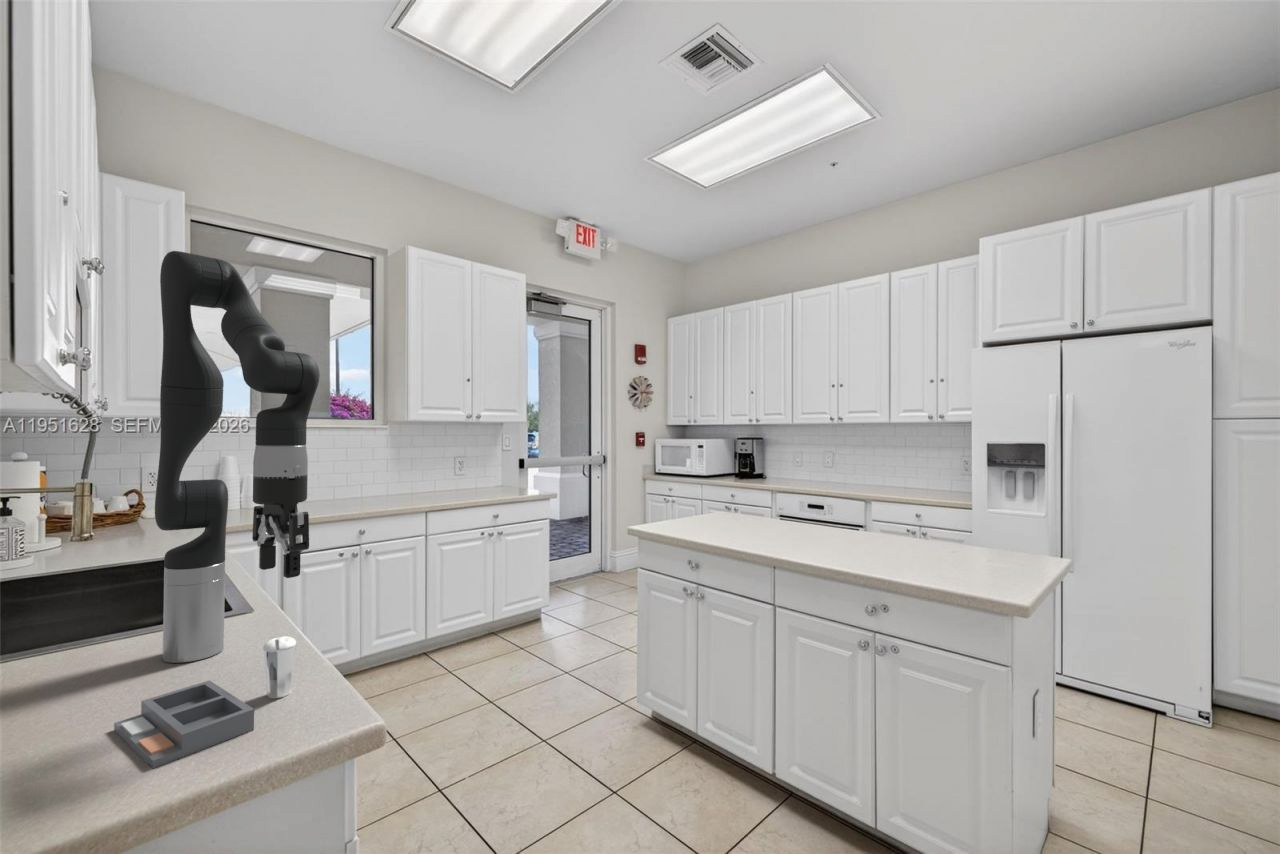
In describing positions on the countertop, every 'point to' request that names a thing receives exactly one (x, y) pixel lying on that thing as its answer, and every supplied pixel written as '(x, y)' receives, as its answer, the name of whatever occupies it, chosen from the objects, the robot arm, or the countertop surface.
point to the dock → (185, 722)
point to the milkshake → (279, 666)
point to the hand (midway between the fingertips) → (279, 572)
